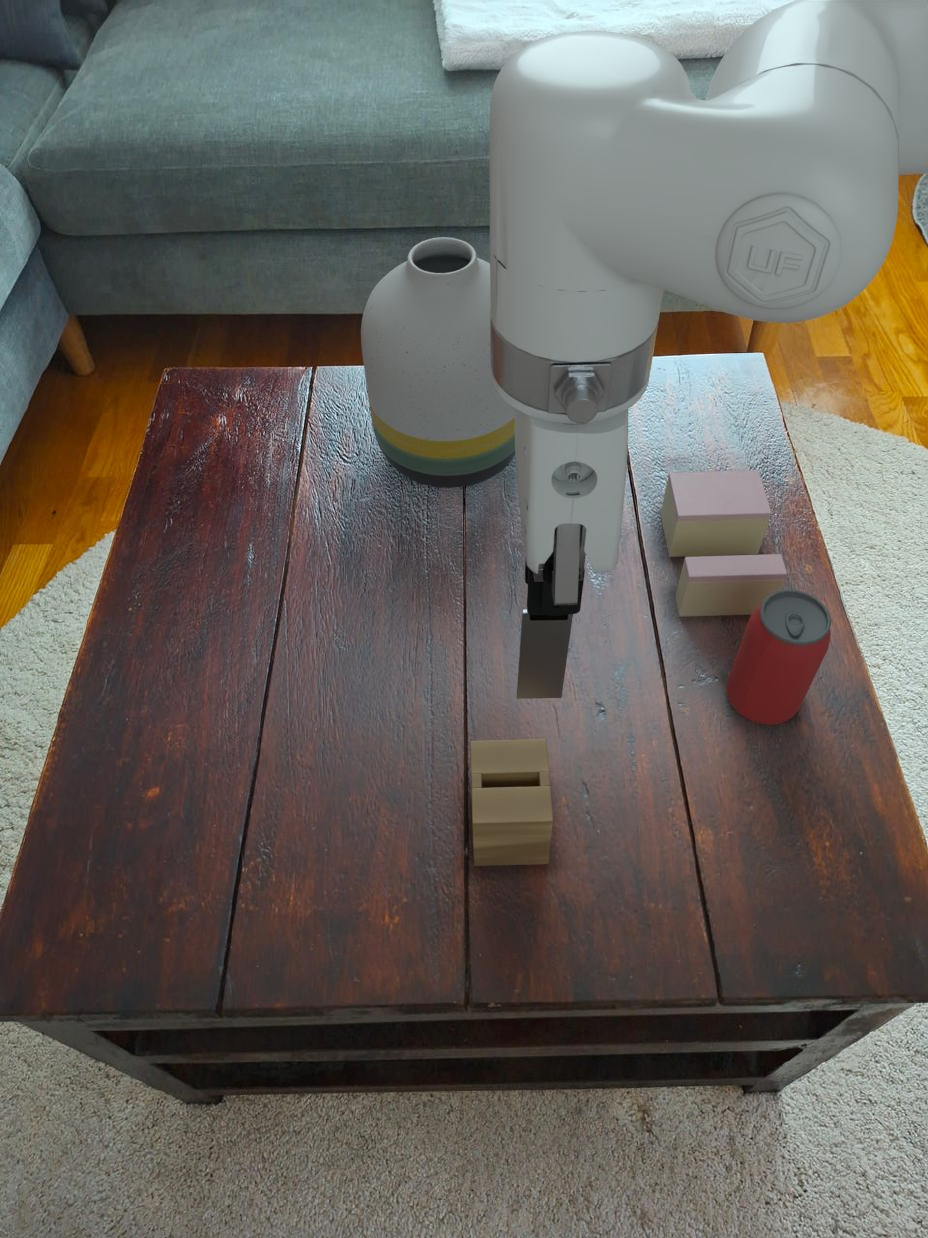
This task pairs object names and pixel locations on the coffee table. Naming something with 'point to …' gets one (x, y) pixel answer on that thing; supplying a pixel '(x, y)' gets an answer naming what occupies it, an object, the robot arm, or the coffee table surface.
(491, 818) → the knife block
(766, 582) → the cake slice
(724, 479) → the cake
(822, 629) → the beer can
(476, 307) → the vase
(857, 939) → the coffee table surface
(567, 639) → the knife
